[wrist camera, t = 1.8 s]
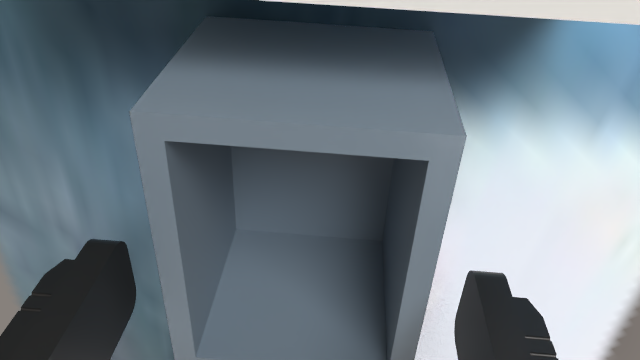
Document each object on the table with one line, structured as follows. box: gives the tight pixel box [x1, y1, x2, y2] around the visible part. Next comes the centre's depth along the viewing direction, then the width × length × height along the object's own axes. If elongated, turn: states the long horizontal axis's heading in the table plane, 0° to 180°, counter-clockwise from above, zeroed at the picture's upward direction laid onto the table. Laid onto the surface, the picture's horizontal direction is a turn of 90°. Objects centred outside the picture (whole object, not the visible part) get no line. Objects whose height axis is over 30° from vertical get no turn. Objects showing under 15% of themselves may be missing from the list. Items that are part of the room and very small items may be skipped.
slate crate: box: [129, 16, 466, 360], centre depth 15 cm, size 8×6×6 cm
